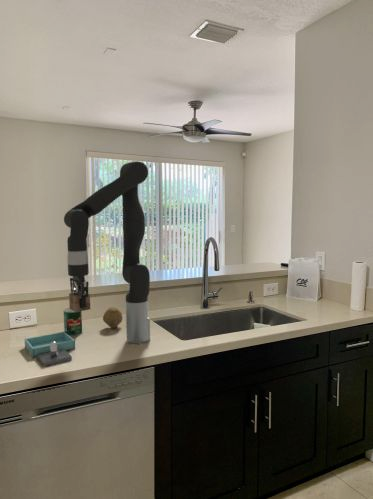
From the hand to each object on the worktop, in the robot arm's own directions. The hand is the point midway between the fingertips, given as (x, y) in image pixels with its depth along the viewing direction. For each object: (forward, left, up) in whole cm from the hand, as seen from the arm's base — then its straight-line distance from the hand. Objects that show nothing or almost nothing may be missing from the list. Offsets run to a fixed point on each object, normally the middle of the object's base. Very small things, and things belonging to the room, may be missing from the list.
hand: (79, 306), depth 140 cm
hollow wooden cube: (0, 0, -1) cm, 1 cm away
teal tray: (+8, -14, -19) cm, 25 cm away
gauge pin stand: (+10, -1, -19) cm, 21 cm away
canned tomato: (-6, -27, -19) cm, 34 cm away
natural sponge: (-24, -24, -19) cm, 39 cm away
